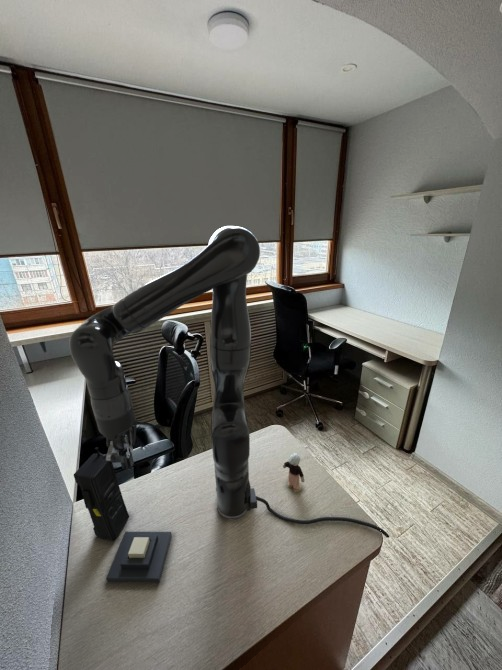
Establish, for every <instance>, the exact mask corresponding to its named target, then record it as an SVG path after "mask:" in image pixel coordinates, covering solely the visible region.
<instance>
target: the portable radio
mask: <svg viewBox="0 0 502 670" xmlns="http://www.w3.org/2000/svg"><path fill="white" fill-rule="evenodd" d="M94 449H95V450H96V453H93V454H91V455H90V457H88V459H86V461H85V462H83V464H82V465H81V466H80V467H79V468H78V469H77V470H76V471H75V472H74V473H73V478H74V480H75V483H76V484H77V486H79V488H80V491H81V495H82V499H83V501H84V502H83V503H84V506H85V509H87V510H88V513H89V516H90V519H91V522H92V524H93V525H92V526H93V528H92V530H93V532H94V535H95V536H96V537H97V538H98V539H102V540H104V541H105V540H106V541H110V542H114V541H115V540H116V539H117V537H118V536H119V534H120V533H121V532H122V530H123V528H124V526H125V525H126V523H127V521H128V519H129V518H130V514H129V512H128V509H127V507H126V503H125V499H124V497H123V494H122V491H121V488H120V485H119V481H118V477H117V474H116V470H115V467H114V464H113V462H107V461H103V460H102V458H103V455H106V454H104V453H101V452H100V451H99V447H98V446H96V447H95V448H94Z"/></svg>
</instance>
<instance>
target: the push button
mask: <svg viewBox="0 0 502 670" xmlns="http://www.w3.org/2000/svg"><path fill="white" fill-rule="evenodd" d="M134 537H149V541H150V543H149V546H148V549H147V552H146V555H145V558H129V555H128V553H129V550H130V547H131V545H132V542H133V540H134ZM172 537H173V534H172V531H125V532H124V534H123V536H122V538H121V541H120V543H119V545H118V548H117V551H116V553H115V554H114V555H115V556H114V558H113V561H112V563H111V565H110V568H109V570H108V572H107V574H106V578H105V579H106V582H107V583H117V584H118V583H121V584H122V583H124V584H125V583H134V584H137V583H138V584H139V583H141V584H144V583H145V584H146V583H147V584H149V583H150V584H159V583H160V582H161V579H162V575H163V571H164V569H165V564H166V561H167V560H166V559H167V557H168V553H169V548H170V545H171V541H172Z"/></svg>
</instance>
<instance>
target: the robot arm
mask: <svg viewBox="0 0 502 670" xmlns="http://www.w3.org/2000/svg"><path fill="white" fill-rule="evenodd" d="M260 257H261V248H260V243H259V240H258V239H257V237H256V236H255V235H254V234H253V233H252V232H251V231H250V230H248V229H246V228H244V227H241V226H237V225H236V226H235V225H226V226H222V227H221V228H218V229H217V230H216V231H215V232H214V233H213V234H212V236H211V237H210V238H209V241H208V245H207V246H206V247H205V248H204V249H203V250H201V252H199V253H198V254H196V256H194V257H193V258H192V259H190V260H189V261H187V262H186V263H185V264H182V265H181V266H180V267H178V268H176V269H174V270H172V271H170V272H168V273H166V274H164V275H161V276H160V277H158V278H156V279H153V280H151V281H149V282H147V283H145V284H144V285H142V286H140V287H138V288H136V290H134V291H132V292H130V293H129V294H127V295H126V296H125V297H123V298H121V299H120V300H119V301H117V302H116V303H114V304H113V305H110V306H108V307H106V308H104V309H103V310H100V311H98V312H96V313H95V314H92V315H91V316H90V317H88V318H87V319H86V320H84V321H83V322H81V324H80V325H79V326H78V327H76V329H74V331H73V332H72V333H71V334H70V337H69V340H68V341H69V342H68V346H69V347H68V348H69V351H70V356H71V359H72V360H73V362H74V364H75V365H76V367H77V368H78V370H79V372H80V373H81V375H82V376H83V377H84V379H85V383H86V386H87V390H88V393H89V396H90V405H91V408H92V412H93V415H94V419H95V423H96V425H97V430H98V431H99V433H100V434H101V435H103V436H104V437H105V438H106V441H105V442H106V447H107V448H108V449H107V453H106V454H105V455H103V458H102V460H103V461H107V462H112V464H113V463H116V464H119V463H120V465H121V468H122V469H123V470H132V468H133V466H134V464H135V461H134V457H133V450H134V448H133V446H134V445H135V444H136V438H137V426H138V419H137V418H136V413H135V410H134V406H133V405H134V404H133V401H132V395H131V392H130V390H129V387H128V385H127V379H126V375H125V370H124V368H123V366H122V364H121V363H120V362H118V361H117V360H116V359H115V356H114V350H113V349H114V346H115V345H116V344H117V343H118V342H119V341H120V340H122V339H123V338H125V337H127V336H128V335H130V334H138V333H140V332H142V331H144V330H146V329H147V328H149V327H150V326H153V325H154V324H155V323H158V322H159V321H160V320H161V319H163V318H165V317H167V316H168V315H170V314H172V312H174V311H176V310H177V309H179V308H180V307H182V306H184V305H186V304H187V303H189V302H191V301H192V300H194V299H195V298H198V297H200V296H202V295H204V294H206V293H207V292H210V291H212V302H211V303H212V304H211V315H210V329H209V330H210V331H209V332H210V335H209V354H210V356H209V357H210V359H209V360H210V367H211V369H210V370H211V373H212V378H213V382H214V395H213V405H212V411H211V423H210V424H211V425H210V427H211V428H210V429H211V431H210V432H211V433H210V434H211V435H210V437H211V448H212V449H211V450H212V459H213V465H214V476H215V492H216V505H217V506H216V507H217V510H218V513H219V514H220V516H221V517H223V518H224V519H226V520H232V521H233V520H239V519H241V518H242V517H244V516H245V515H246V514H247V513H248V512H251V510H253V509H258V502H260V503H262V504H264V505H265V506H266V509H267V511H268V512H269V513H270V514H271V515H273V516H274V517H276V518H278V519H279V520H282V521H285V522H287V523H292V524H298V525H311V524H316V523H320V522H347V523H351V524H357V525H361V526H365V527H368V528H371V529H374V530H376V531H378V532H379V533H381V532H382V533H381V534H382V535H383V536H384V537H385V538H387V539H389V538H390V534H388V532H386V530H384V529H383V528H382V527H380V526H378V525H376V524H373V523H370V522H366V521H363V520H361V519H356V518H350V517H343V516H323V517H317V518H312V519H306V520H303V519H295V518H290V517H287V516H284V515H281V514H279V513H277V512H276V510H273V508H271V506H270V504H269V502H268V501H267V500H266V499H264V498H262V497H260V496H257V494H256V490H255V488H254V487H252V488H251V482H250V470H249V469H250V468H249V463H250V462H249V459H250V453H251V452H250V451H251V450H250V449H251V448H250V447H251V445H250V444H251V443H250V442H251V440H250V439H251V438H250V437H251V436H250V428H249V421H248V416H247V415H248V414H247V412H246V405H245V393H244V391H245V390H244V388H245V381H246V378H247V375H248V373H249V369H250V366H251V365H250V363H251V358H252V357H251V355H252V329H251V328H252V327H251V323H250V322H251V320H250V314H249V310H248V304H247V282H248V274H250V273H251V272H253V270H254V269H255V268H256V267H257V265H258V263H259V261H260ZM377 526H378V527H377ZM380 530H381V531H380Z"/></svg>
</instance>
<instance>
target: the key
mask: <svg viewBox="0 0 502 670" xmlns="http://www.w3.org/2000/svg"><path fill="white" fill-rule="evenodd" d="M149 543H150V541H149V537H134V540H133V542H132V545H131V547H130V550H129V553H128V555H129V558H145V555H146V552H147V549H148V546H149Z"/></svg>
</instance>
